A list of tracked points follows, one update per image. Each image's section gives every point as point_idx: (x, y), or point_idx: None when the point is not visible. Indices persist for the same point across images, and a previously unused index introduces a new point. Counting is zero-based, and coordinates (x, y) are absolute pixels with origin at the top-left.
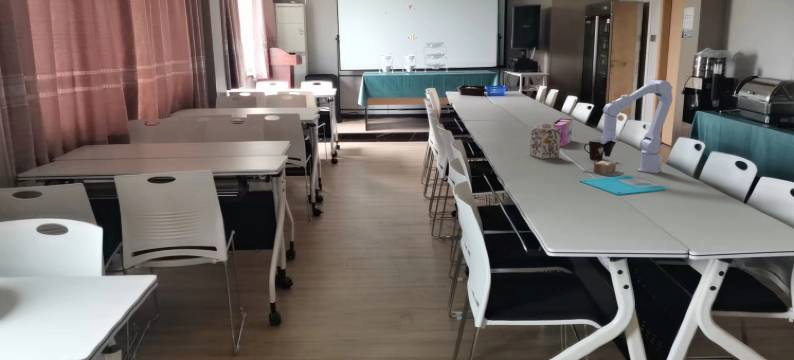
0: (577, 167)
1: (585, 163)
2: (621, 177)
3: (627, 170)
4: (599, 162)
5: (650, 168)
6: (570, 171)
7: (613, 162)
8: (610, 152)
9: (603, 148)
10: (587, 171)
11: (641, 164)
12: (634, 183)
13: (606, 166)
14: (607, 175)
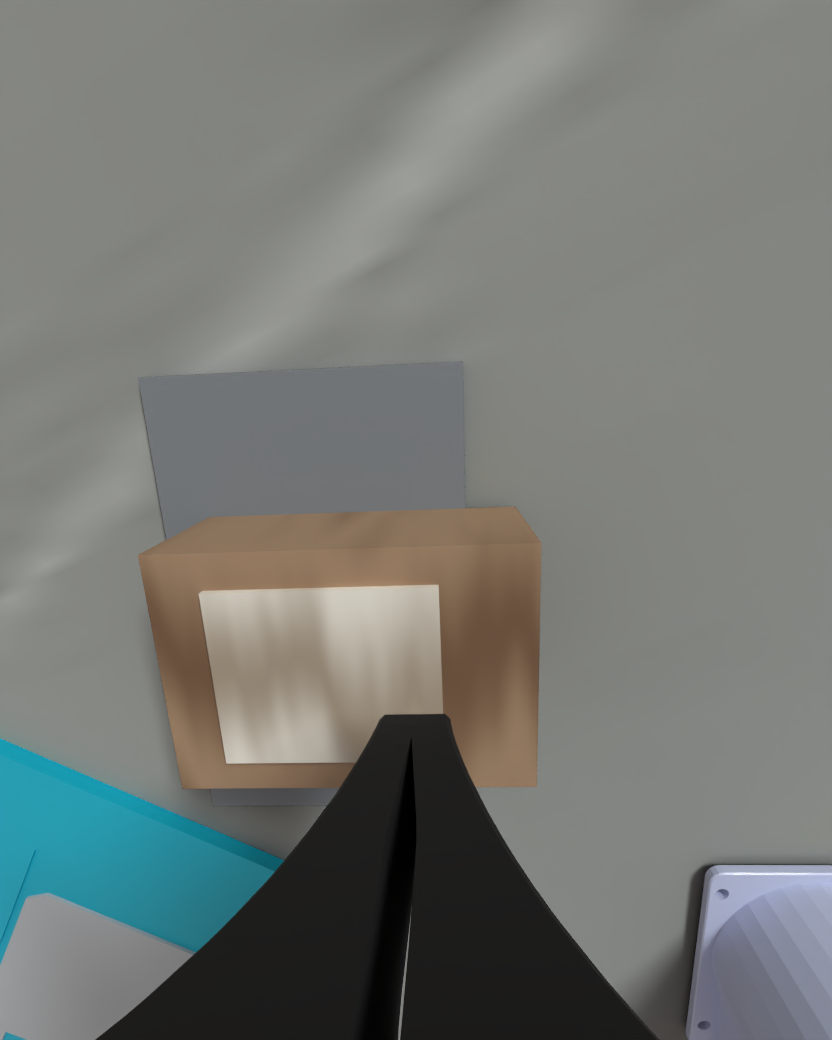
0: (369, 130)
1: (812, 55)
2: (181, 878)
3: (665, 778)
4: (279, 600)
5: (739, 1038)
6: (10, 206)
7: (499, 756)
8: (403, 922)
9: (274, 873)
10: (161, 442)
11: (785, 991)
12: (47, 1030)
13: (184, 752)
14: None
